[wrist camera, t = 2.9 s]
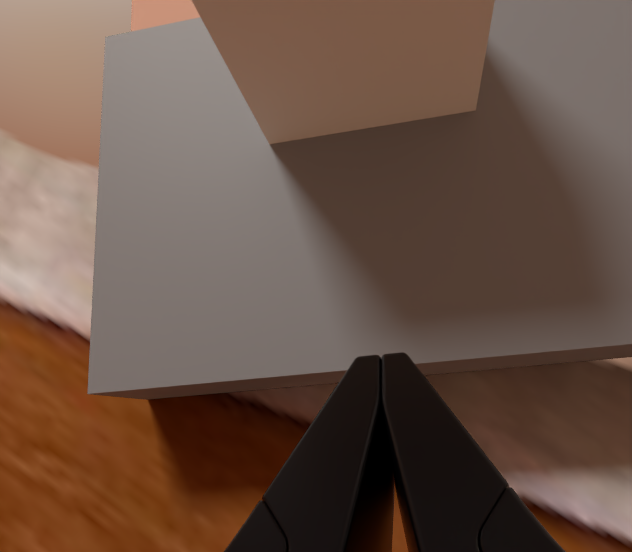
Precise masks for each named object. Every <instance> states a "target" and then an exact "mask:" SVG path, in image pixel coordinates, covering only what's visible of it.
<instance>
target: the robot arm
mask: <svg viewBox="0 0 632 552" xmlns="http://www.w3.org/2000/svg"><path fill="white" fill-rule="evenodd" d="M394 481H395V487H396V493H397V498H398V503H399V508H400V513H401V518H402V523H403V527H404V532H405V537H406V542H407V546H408V551H409V552H565V551H564V550H563V549H562V547H561V546H560V545H559V544H558V543H557V542H556V541H555V540H554V539H553V538H552V537H551V535H550V534H549V533H548V532H547V531H546V529H545V528H544V527H543V526H542V525H541V523H540V522H539V521H538V520H537V519H536V517H535V516H534V515H533V514H532V513H531V511H530V510H529V509H528V508H527V507H526V505H525V504H524V503H523V501H522V500H521V499H520V498H519V496H518V495H517V494H516V493H515V491H514V490H513V489H512V488H510V487H509V484H508V483H507V481H506V480H505V479H504V478H503V476H502V475H501V474H500V472H499V471H498V470H497V469H496V467H495V466H494V465H493V463H492V462H491V461H490V460H489V458H488V457H487V456H486V454H485V453H484V452H483V451H482V449H481V448H480V447H479V445H478V444H477V443H476V442H475V440H474V439H473V438H472V437H471V435H470V434H469V433H468V431H467V430H466V429H465V428H464V426H463V425H462V424H461V422H460V421H459V420H458V419H457V417H456V416H455V415H454V413H453V412H452V411H451V410H450V408H449V407H448V406H447V404H446V403H445V402H444V401H443V399H442V398H441V397H440V396H439V394H438V393H437V392H436V390H435V389H434V388H433V387H432V385H431V384H430V383H429V381H428V380H427V379H426V378H425V376H424V375H423V374H422V372H421V371H420V370H419V369H418V367H417V366H416V365H415V363H414V362H413V361H412V360H411V358H410V357H409V356H408V355H407V354H406V353H404V352H399V353H389V354H384V355H382V357H380V356H379V355H368V356H359V357H357V358H355V359H354V361H353V362H352V364H351V365H350V367H349V368H348V370H347V371H346V373H345V374H344V376H343V377H342V379H341V380H340V382H339V383H338V385H337V386H336V388H335V389H334V391H333V392H332V394H331V395H330V397H329V398H328V400H327V401H326V403H325V404H324V406H323V407H322V409H321V410H320V412H319V413H318V415H317V416H316V418H315V419H314V421H313V422H312V424H311V425H310V427H309V428H308V430H307V431H306V433H305V434H304V436H303V437H302V439H301V440H300V442H299V443H298V445H297V446H296V448H295V449H294V451H293V452H292V454H291V455H290V457H289V458H288V460H287V461H286V462H285V464H284V465H283V467H282V468H281V470H280V471H279V473H278V474H277V476H276V477H275V479H274V480H273V482H272V483H271V485H270V486H269V488H268V489H267V491H266V492H265V494H264V495H263V497H262V499H263V501H259V502H258V504H257V505H256V507H255V508H254V510H253V511H252V513H251V514H250V516H249V517H248V519H247V520H246V522H245V523H244V524H243V526H242V527H241V529H240V530H239V532H238V533H237V534H236V536H235V537H234V539H233V540H232V541H231V543H230V544H229V546H228V547H227V548H226V550H225V551H224V552H392V534H393V513H394Z"/></svg>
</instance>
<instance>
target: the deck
mask: <svg viewBox="0 0 632 552" xmlns="http://www.w3.org/2000/svg"><path fill="white" fill-rule="evenodd" d="M99 156H100V157H99V175H98V196H97V216H96V236H95V256H94V276H93V296H92V316H91V336H90V356H89V377H88V394H94V395H104V396H115V397H125V398H136V399H147V400H148V399H159V398H171V397H182V396H193V395H205V394H216V393H227V392H239V391H250V390H261V389H273V388H284V387H295V386H307V385H318V384H330V383H339V382H340V380H341V379H342V377H343V376H344V374H345V373H346V371H347V370H348V368H349V367H350V365H351V364H352V362H353V361H354V359H355V358H357V357H359V356H368V355H379V356H380V357H382V355H384V354H389V353H399V352H404V353H406V354H407V355H408V356H409V357H410V358H411V360H412V361H413V362H414V363H415V365H416V366H417V367H418V369H419V370H420V371H421V372H422V374H423V375H432V374H443V373H454V372H466V371H477V370H488V369H500V368H511V367H522V366H534V365H545V364H556V363H568V362H579V361H590V360H602V359H613V358H624V357H632V0H495V2H494V8H493V14H492V20H491V25H490V31H489V37H488V43H487V48H486V54H485V60H484V66H483V71H482V77H481V83H480V89H479V94H478V100H477V106H476V110H475V111H469V112H463V113H457V114H451V115H445V116H439V117H433V118H426V119H420V120H414V121H408V122H402V123H396V124H390V125H384V126H378V127H372V128H366V129H359V130H353V131H347V132H341V133H335V134H329V135H323V136H317V137H311V138H305V139H298V140H292V141H286V142H280V143H274V144H269V143H268V141H267V139H266V137H265V135H264V134H263V132H262V130H261V128H260V126H259V124H258V122H257V121H256V119H255V117H254V115H253V113H252V111H251V110H250V108H249V106H248V104H247V102H246V100H245V98H244V97H243V95H242V93H241V91H240V89H239V87H238V85H237V84H236V82H235V80H234V78H233V76H232V74H231V72H230V71H229V69H228V67H227V65H226V63H225V61H224V60H223V58H222V56H221V54H220V52H219V50H218V48H217V47H216V45H215V43H214V41H213V39H212V37H211V35H210V34H209V32H208V30H207V28H206V26H205V24H204V22H203V21H202V19H201V17H199V18H194V19H189V20H185V21H180V22H175V23H170V24H165V25H160V26H156V27H151V28H146V29H141V30H136V31H132V32H127V33H122V34H117V35H112V36H108V37H105V55H104V76H103V96H102V115H101V135H100V155H99Z"/></svg>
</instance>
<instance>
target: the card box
mask: <svg viewBox="0 0 632 552" xmlns="http://www.w3.org/2000/svg"><path fill="white" fill-rule="evenodd" d="M192 2H193V4H194V6H195V8H196V10H197V11H198V13H199V15H200V17H201V19H202V21H203V22H204V24H205V26H206V28H207V30H208V32H209V34H210V35H211V37H212V39H213V41H214V43H215V45H216V47H217V48H218V50H219V52H220V54H221V56H222V58H223V60H224V61H225V63H226V65H227V67H228V69H229V71H230V72H231V74H232V76H233V78H234V80H235V82H236V84H237V85H238V87H239V89H240V91H241V93H242V95H243V97H244V98H245V100H246V102H247V104H248V106H249V108H250V110H251V111H252V113H253V115H254V117H255V119H256V121H257V122H258V124H259V126H260V128H261V130H262V132H263V134H264V135H265V137H266V139H267V141H268V143H269V144H274V143H280V142H286V141H292V140H298V139H305V138H311V137H317V136H323V135H329V134H335V133H341V132H347V131H353V130H359V129H366V128H372V127H378V126H384V125H390V124H396V123H402V122H408V121H414V120H420V119H426V118H433V117H439V116H445V115H451V114H457V113H463V112H469V111H475V110H476V106H477V100H478V94H479V89H480V83H481V77H482V71H483V66H484V60H485V54H486V48H487V43H488V37H489V31H490V25H491V20H492V14H493V8H494V2H495V0H192Z"/></svg>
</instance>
